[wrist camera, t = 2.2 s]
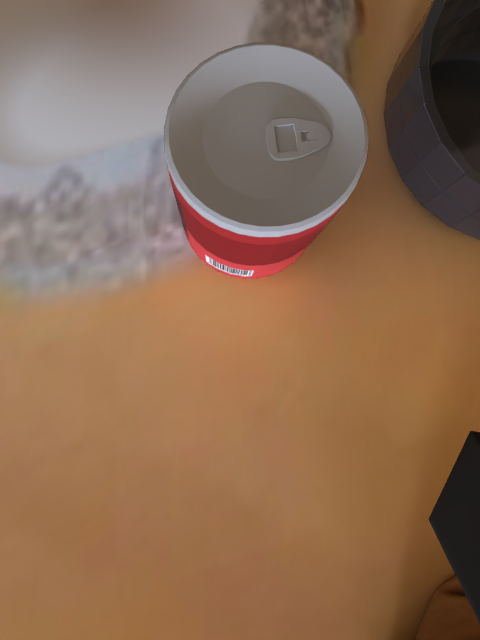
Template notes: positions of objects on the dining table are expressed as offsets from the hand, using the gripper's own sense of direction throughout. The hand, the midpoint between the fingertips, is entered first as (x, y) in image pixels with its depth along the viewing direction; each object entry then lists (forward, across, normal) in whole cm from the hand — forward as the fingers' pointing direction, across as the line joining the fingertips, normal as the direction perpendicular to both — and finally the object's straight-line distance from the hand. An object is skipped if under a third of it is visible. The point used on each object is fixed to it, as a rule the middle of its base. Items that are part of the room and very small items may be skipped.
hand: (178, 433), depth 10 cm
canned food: (+20, +2, +2) cm, 20 cm away
